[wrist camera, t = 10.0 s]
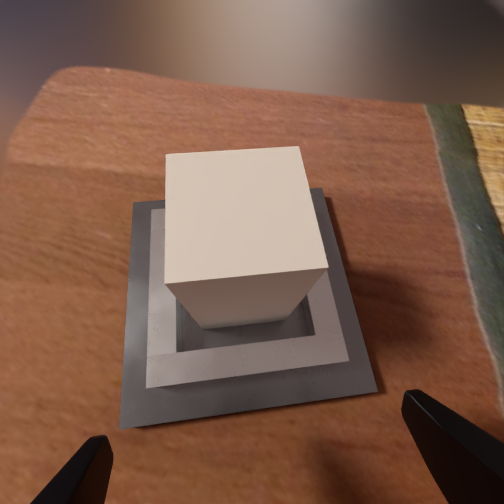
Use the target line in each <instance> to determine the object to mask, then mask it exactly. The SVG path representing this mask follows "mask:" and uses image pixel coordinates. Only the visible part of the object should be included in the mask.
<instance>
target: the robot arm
mask: <svg viewBox="0 0 504 504" xmlns="http://www.w3.org/2000/svg"><path fill="white" fill-rule="evenodd" d="M401 412H402V416H403V419H404V421H405V423H406V425H407V427H408V429H409V431H410V433H411V435H412V437H413V439H414V441H415V443H416V445H417V447H418V449H419V451H420V453H421V455H422V457H423V459H424V461H425V463H426V465H427V467H428V469H429V471H430V473H431V474H432V476H433V478H434V480H435V481H436V483H437V485H438V486H439V488H440V490H441V491H442V493H443V495H444V496H445V498H446V500H447V501H448V503H449V504H504V443H503V442H501V441H500V440H498V439H497V438H495V437H493V436H492V435H490V434H489V433H487V432H486V431H484V430H482V429H481V428H479V427H478V426H476V425H475V424H473V423H471V422H470V421H468V420H467V419H465V418H464V417H462V416H460V415H459V414H457V413H456V412H454V411H453V410H451V409H449V408H448V407H446V406H445V405H443V404H442V403H440V402H438V401H437V400H435V399H434V398H432V397H430V396H429V395H427V394H426V393H424V392H423V391H421V390H418V389H414V390H407V391H405V393H404V397H403V402H402V408H401ZM112 465H113V452H112V449H111V446H110V443H109V440H108V438H107V436H106V435H99V436H93V437H90V438H89V439H88V440H87V441H86V442H85V443H84V444H83V445H82V446H81V447H80V449H79V450H78V451H77V452H76V453H75V454H74V455H73V456H72V458H71V459H70V460H69V461H68V462H67V463H66V464H65V465H64V466H63V468H62V469H61V470H60V471H59V472H58V473H57V474H56V475H55V476H54V478H53V479H52V480H51V481H50V482H49V483H48V484H47V485H46V486H45V488H44V489H43V490H42V491H41V492H40V493H39V494H38V495H37V496H36V498H35V499H34V500H33V501H32V502H31V503H30V504H104V503H105V498H106V493H107V488H108V484H109V479H110V474H111V470H112Z"/></svg>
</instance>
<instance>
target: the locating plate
mask: <svg viewBox="0 0 504 504" xmlns="http://www.w3.org/2000/svg"><path fill="white" fill-rule="evenodd" d="M309 190H310V194H311V198H312V202H313V206H314V210H315V214H316V218H317V222H318V226H319V230H320V234H321V238H322V242H323V246H324V250H325V254H326V259H327V263H328V267H329V268H328V269H327V270H326V271H325V273H324V274H323V275H322V276H321V277H320V279H319V280H318V281H317V282H316V283H315V285H314V286H313V287H312V288H311V290H310V291H309V292H308V293H307V294H306V296H305V297H304V298H303V299H302V300H301V302H300V303H299V304H298V305H297V306H296V308H295V309H294V310H293V311H292V313H291V314H290V315H289V316H288V317H287V319H286V320H282V321H273V322H264V323H256V324H247V325H238V326H229V327H221V328H212V329H202V328H201V327H200V326H199V324H198V323H197V322H196V321H195V320H194V318H193V317H192V316H191V315H190V314H189V312H188V311H187V310H186V309H185V308H184V307H183V305H182V304H181V303H180V302H179V301H178V299H177V298H176V297H175V296H174V295H173V293H172V292H171V291H170V290H169V289H168V287H167V286H166V285H165V284H164V280H165V200H159V201H146V202H133V217H132V233H131V249H130V264H129V280H128V296H127V312H126V328H125V344H124V360H123V376H122V392H121V408H120V423H119V429H125V428H132V427H139V426H146V425H153V424H159V423H166V422H173V421H180V420H187V419H194V418H201V417H207V416H214V415H221V414H228V413H235V412H242V411H249V410H255V409H262V408H269V407H276V406H283V405H290V404H297V403H303V402H310V401H317V400H324V399H331V398H338V397H345V396H351V395H358V394H365V393H372V392H378V390H377V386H376V382H375V379H374V375H373V371H372V368H371V364H370V361H369V357H368V353H367V350H366V346H365V342H364V339H363V335H362V332H361V328H360V324H359V321H358V317H357V314H356V310H355V306H354V303H353V299H352V295H351V292H350V288H349V285H348V281H347V277H346V274H345V270H344V266H343V263H342V259H341V256H340V252H339V248H338V245H337V241H336V237H335V234H334V230H333V227H332V223H331V219H330V216H329V212H328V208H327V205H326V201H325V198H324V194H323V190H322V188H313V189H309Z"/></svg>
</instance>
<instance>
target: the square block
mask: <svg viewBox="0 0 504 504" xmlns="http://www.w3.org/2000/svg"><path fill="white" fill-rule="evenodd" d="M328 268H329V267H328V263H327V259H326V254H325V250H324V246H323V242H322V238H321V234H320V230H319V226H318V222H317V218H316V214H315V210H314V206H313V202H312V198H311V194H310V190H309V186H308V182H307V178H306V174H305V170H304V166H303V162H302V157H301V153H300V149H299V146H293V147H277V148H260V149H244V150H227V151H211V152H194V153H178V154H166V196H165V280H164V284H165V285H166V286H167V287H168V289H169V290H170V291H171V292H172V293H173V295H174V296H175V297H176V298H177V299H178V301H179V302H180V303H181V304H182V305H183V307H184V308H185V309H186V310H187V311H188V312H189V314H190V315H191V316H192V317H193V318H194V320H195V321H196V322H197V323H198V324H199V326H200V327H201V328H202V329H212V328H221V327H229V326H238V325H247V324H256V323H264V322H273V321H282V320H286V319H287V317H288V316H289V315H290V314H291V313H292V311H293V310H294V309H295V308H296V306H297V305H298V304H299V303H300V302H301V300H302V299H303V298H304V297H305V296H306V294H307V293H308V292H309V291H310V290H311V288H312V287H313V286H314V285H315V283H316V282H317V281H318V280H319V279H320V277H321V276H322V275H323V274H324V273H325V271H326V270H327V269H328Z"/></svg>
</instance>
